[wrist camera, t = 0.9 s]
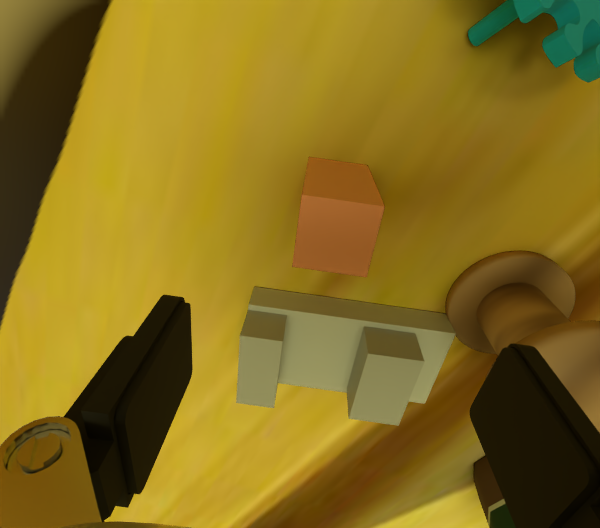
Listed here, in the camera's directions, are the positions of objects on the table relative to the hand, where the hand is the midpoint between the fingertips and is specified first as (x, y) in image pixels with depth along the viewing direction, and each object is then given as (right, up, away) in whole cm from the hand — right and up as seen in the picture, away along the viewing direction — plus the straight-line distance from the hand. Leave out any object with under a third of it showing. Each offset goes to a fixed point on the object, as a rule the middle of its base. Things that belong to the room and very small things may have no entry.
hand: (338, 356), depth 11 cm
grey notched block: (+2, -4, +21) cm, 21 cm away
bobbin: (+15, 0, +18) cm, 23 cm away
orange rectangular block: (+1, +8, +14) cm, 16 cm away
